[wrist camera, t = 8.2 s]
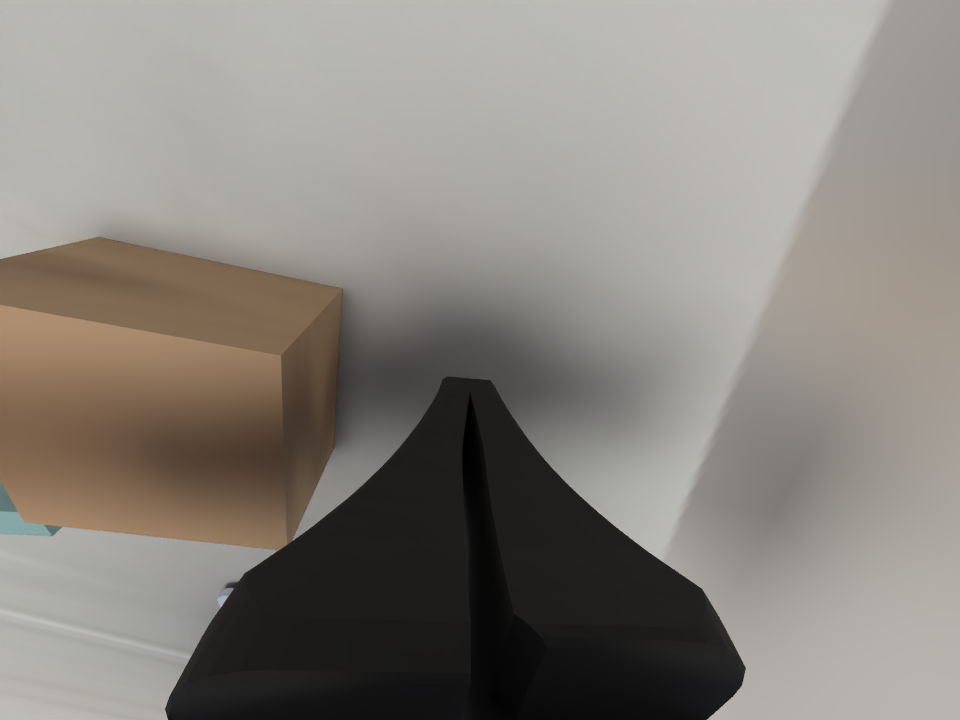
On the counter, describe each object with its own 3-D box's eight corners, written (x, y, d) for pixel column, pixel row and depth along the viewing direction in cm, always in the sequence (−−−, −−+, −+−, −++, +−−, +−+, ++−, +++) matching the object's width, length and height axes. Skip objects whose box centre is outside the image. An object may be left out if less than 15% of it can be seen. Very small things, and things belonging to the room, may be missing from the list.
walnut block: (335, 444, 13) (287, 551, 10) (151, 416, 12) (24, 522, 9) (344, 286, 10) (280, 355, 7) (104, 235, 9) (-112, 284, 6)
